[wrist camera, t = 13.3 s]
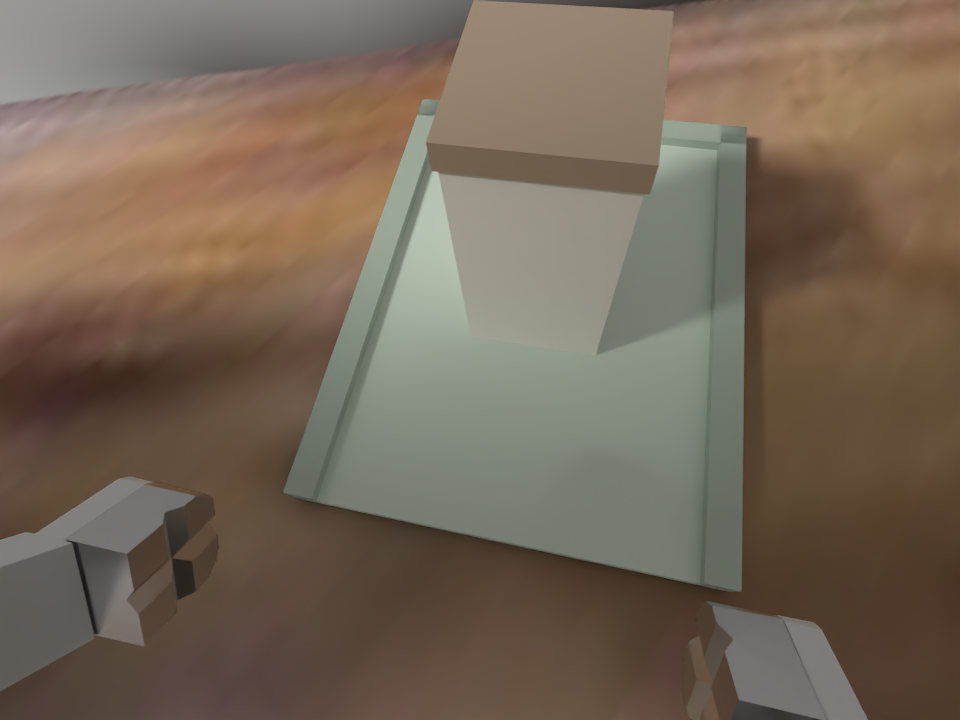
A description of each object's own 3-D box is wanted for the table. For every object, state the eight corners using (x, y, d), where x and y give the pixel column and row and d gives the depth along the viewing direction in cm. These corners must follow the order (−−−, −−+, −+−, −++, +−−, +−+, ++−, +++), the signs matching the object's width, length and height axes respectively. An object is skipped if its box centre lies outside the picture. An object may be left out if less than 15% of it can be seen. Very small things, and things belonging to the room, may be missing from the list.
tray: (295, 498, 18) (282, 492, 17) (426, 117, 25) (422, 99, 24) (728, 592, 15) (741, 591, 15) (737, 146, 23) (746, 126, 22)
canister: (467, 338, 19) (425, 142, 11) (493, 234, 21) (473, 0, 13) (597, 358, 18) (658, 165, 10) (612, 249, 20) (673, 10, 12)
